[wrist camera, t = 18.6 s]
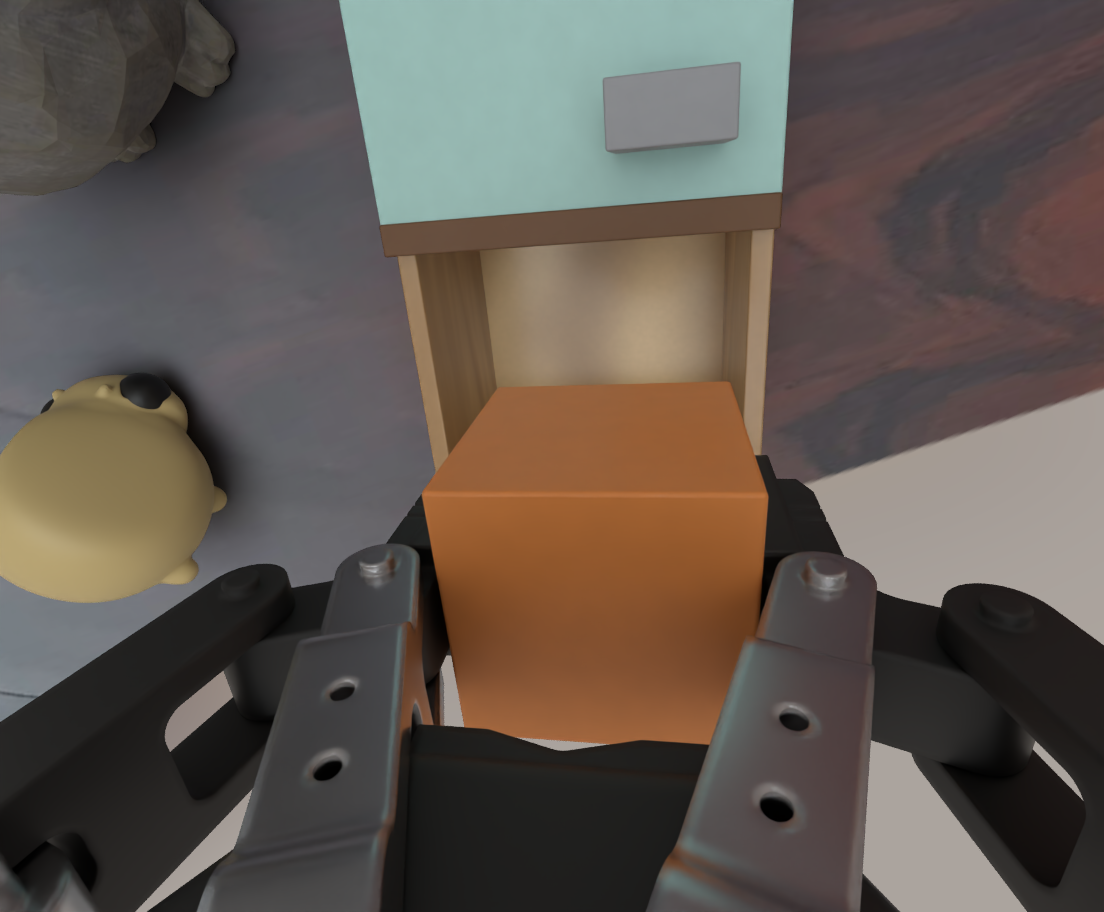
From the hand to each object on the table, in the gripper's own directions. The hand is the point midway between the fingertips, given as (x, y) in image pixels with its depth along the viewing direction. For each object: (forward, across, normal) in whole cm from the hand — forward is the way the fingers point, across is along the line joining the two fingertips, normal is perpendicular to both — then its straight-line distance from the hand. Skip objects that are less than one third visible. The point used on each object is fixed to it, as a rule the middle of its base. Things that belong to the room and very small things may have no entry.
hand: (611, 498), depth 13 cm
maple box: (+19, +2, -1) cm, 19 cm away
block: (0, 0, 0) cm, 0 cm away
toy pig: (+19, +28, +7) cm, 34 cm away
